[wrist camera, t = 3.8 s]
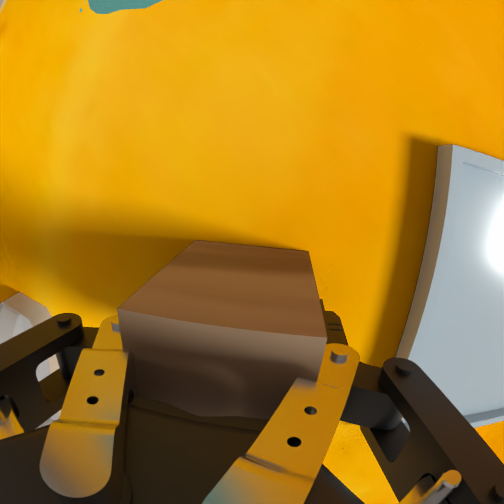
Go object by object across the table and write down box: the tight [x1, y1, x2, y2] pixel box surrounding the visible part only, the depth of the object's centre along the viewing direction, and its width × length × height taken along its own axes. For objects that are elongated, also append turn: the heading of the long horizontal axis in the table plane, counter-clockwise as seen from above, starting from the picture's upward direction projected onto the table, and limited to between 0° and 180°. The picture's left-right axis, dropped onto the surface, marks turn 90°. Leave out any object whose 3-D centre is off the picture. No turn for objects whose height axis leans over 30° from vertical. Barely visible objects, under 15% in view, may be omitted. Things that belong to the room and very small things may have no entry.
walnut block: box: [117, 240, 327, 420], centre depth 11 cm, size 5×5×7 cm
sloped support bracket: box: [0, 292, 62, 429], centre depth 15 cm, size 6×18×8 cm, turn 164°
